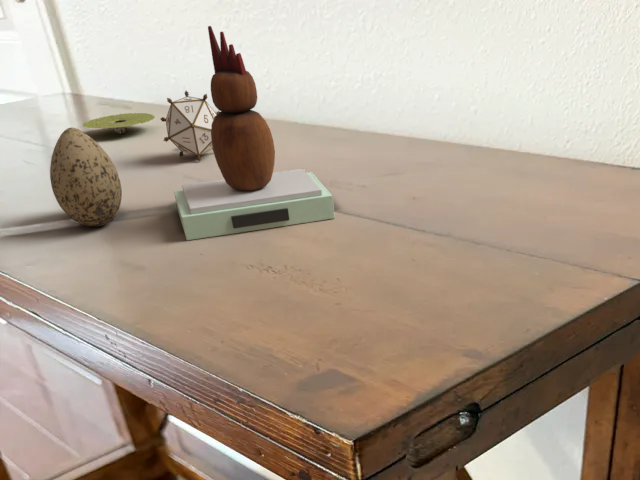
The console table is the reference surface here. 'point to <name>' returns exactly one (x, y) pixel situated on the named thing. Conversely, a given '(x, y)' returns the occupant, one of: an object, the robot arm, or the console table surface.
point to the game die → (190, 125)
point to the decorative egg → (84, 179)
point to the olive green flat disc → (119, 121)
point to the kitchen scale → (252, 205)
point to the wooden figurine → (238, 122)
